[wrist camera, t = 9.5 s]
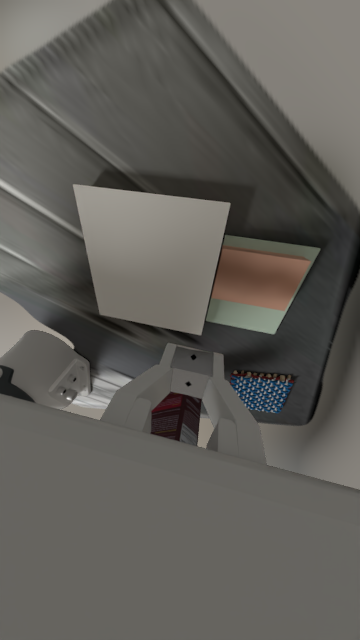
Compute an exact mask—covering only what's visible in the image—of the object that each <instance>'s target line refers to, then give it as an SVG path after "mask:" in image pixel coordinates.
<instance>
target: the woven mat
mask: <svg viewBox="0 0 360 640" xmlns="http://www.w3.org/2000/svg"><path fill="white" fill-rule="evenodd" d="M237 373H238V372H237V371H236V370H235V371H234V373H231V376H230V377H232V378H231V380H230V385H231V386H232V388H233V389H234V391H235V392H236V393H237V395H238V396H239V398H240V399H241V401H242V402H243V403H244V405H245V406H246V405H247V406H246V408H247V409H249V408H250V409H251V410H254V409H255V410H257V409H258V410H259V411H261V410H262V411H264V410H265V411H267V412H274V413H279V412H280V411H281V408H282V407H283V404H284V403H285V401H286V398H287V396H288V394H287V393H289V392H290V389H289V388H291V386H292V385H293V383H294V380H290V378H291V375H288V377H287V378H285V376H283V375H280V376H279V377H277V374H274V375H273V377H271V375H270V374H267V375H266V377H265V376H264V374H261V373H260V375H259V376H256V375H257V373H254V374H251V372H247V373H245V374H244V371H243V370H242V372H241V374H237ZM239 376H240V377H239ZM245 376H246V377H245ZM251 376H252V377H251ZM276 377H277V378H276ZM257 381H258V382H257ZM292 382H293V383H292ZM268 409H269V410H268ZM277 410H278V411H277Z"/></svg>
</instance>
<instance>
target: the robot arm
mask: <svg viewBox="0 0 360 640" xmlns="http://www.w3.org/2000/svg"><path fill="white" fill-rule="evenodd" d="M170 391H171V392H175V393H180V394H185V395H189V396H193V397H196V398H200V399H202V401H203V403H204V405H205V408H206V410H207V412H208V415H209V417H210V420H211V422H212V424H213V427H214V431H213V433H212V435H211V437H210V439H209V441H208V443H207V448H206V449H205V448H202V447H198V446H194V445H191V444H187V443H183V442H179V441H176V440H172V439H168V438H164V437H161V436H157V435H153V434H150V433H151V411H152V410H153V409H154V408H155V407H156V406H157V405H158V404H159V403H160V402H161V401H162V400H163V399H164V398H165V397H166V396H167V395H168V394H169V393H170ZM90 393H91V385H90V363H89V361H88V360H86V359H85V358H84V357H82V356H80V355H79V354H77V353H76V352H75V351H74V350H73V349H72V348H70V346H68V345H67V344H66V343H65V342H63V341H62V340H60V339H59V338H57V337H55V336H53V335H51V334H49V333H46V332H43V331H37V330H31V331H28V332H26V333H25V334H24V336H23V337H22V338H21V339H20V340H19V341H18V342H17V343H16V344H15V345H14V346H13V347H12V348H11V349H10V350H9V351H8V352H7V353H5V354H4V355H3V356H2V357H1V358H0V640H360V490H358V489H355V488H351V487H347V486H344V485H340V484H336V483H332V482H329V481H325V480H321V479H317V478H314V477H310V476H306V475H302V474H299V473H295V472H291V471H287V470H284V469H280V468H276V467H273V466H269V465H267V463H266V458H265V452H264V447H263V441H262V436H261V430H260V426H259V425H258V423H257V422H256V420H255V419H254V418H253V416H252V415H251V413H250V412H249V410H248V409H247V408H246V406H245V405H244V403H243V402H242V401H241V399H240V398H239V396H238V395H237V393H236V392H235V391H234V389H233V388H232V386H231V385H230V383H229V382H228V381H227V380H224V356H223V354H220V353H214V352H209V351H204V350H199V349H194V348H190V347H185V346H181V345H176V344H172V343H168V344H167V345H166V348H165V350H164V353H163V356H162V358H161V361H160V363H159V365H155V366H153V367H152V368H150V369H149V370H147V371H146V372H144V373H143V374H141V375H140V376H138V377H137V378H135V379H134V380H132V381H131V382H129V383H128V384H126V385H125V386H123V387H122V388H120V389H119V390H117V391H116V393H115V395H114V396H113V398H112V400H111V402H110V403H109V405H108V407H107V409H106V410H105V412H104V414H103V416H102V417H101V419H100V420H97V419H93V418H89V417H86V416H82V415H78V414H74V413H71V412H67V411H63V410H60V409H63V408H65V407H67V406H68V405H70V404H71V403H72V402H73V400H74V399H75V398H76V397H77V396H88V395H89V394H90Z"/></svg>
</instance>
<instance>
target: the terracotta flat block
mask: <svg viewBox="0 0 360 640" xmlns="http://www.w3.org/2000/svg"><path fill="white" fill-rule="evenodd" d="M310 263H311V261H310V260H308V259H306V258H305V257H303V256H296V255H289V254H282V253H275V252H268V251H261V250H254V249H247V248H240V247H233V246H226V245H222V249H221V254H220V258H219V263H218V267H217V272H216V276H215V280H214V285H213V289H212V296H211V298H214V299H220V300H225V301H231V302H236V303H242V304H248V305H253V306H259V307H264V308H270V309H275V310H281V311H285V310H286V308H287V306H288V304H289V302H290V300H291V298H292V296H293V295H294V293H295V291H296V289H297V287H298V285H299V283H300V281H301V280H302V278H303V276H304V274H305V272H306V270H307V268H308V266H309V264H310Z"/></svg>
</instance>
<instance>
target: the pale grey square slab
mask: <svg viewBox="0 0 360 640" xmlns="http://www.w3.org/2000/svg"><path fill="white" fill-rule="evenodd" d="M73 188H74V193H75V197H76V202H77V207H78V212H79V217H80V221H81V226H82V231H83V236H84V241H85V246H86V250H87V255H88V260H89V265H90V270H91V275H92V279H93V284H94V289H95V294H96V299H97V304H98V308H99V313H100V315H104V316H109V317H114V318H119V319H124V320H129V321H133V322H138V323H143V324H148V325H153V326H157V327H162V328H167V329H172V330H177V331H182V332H186V333H191V334H196V335H201V334H202V329H203V325H204V320H205V316H206V311H207V307H208V303H209V298H210V294H211V289H212V285H213V280H214V276H215V271H216V267H217V262H218V258H219V253H220V249H221V244H222V240H223V235H224V231H225V226H226V222H227V217H228V213H229V208H230V204H231V203H227V202H219V201H210V200H202V199H193V198H185V197H177V196H168V195H160V194H151V193H143V192H135V191H126V190H118V189H109V188H101V187H93V186H84V185H76V184H73Z"/></svg>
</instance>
